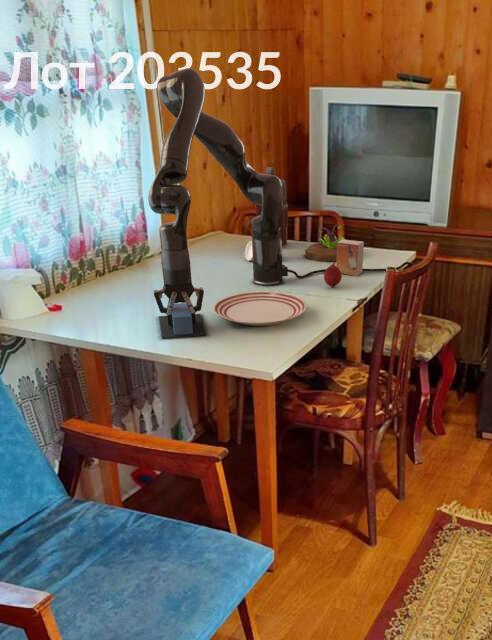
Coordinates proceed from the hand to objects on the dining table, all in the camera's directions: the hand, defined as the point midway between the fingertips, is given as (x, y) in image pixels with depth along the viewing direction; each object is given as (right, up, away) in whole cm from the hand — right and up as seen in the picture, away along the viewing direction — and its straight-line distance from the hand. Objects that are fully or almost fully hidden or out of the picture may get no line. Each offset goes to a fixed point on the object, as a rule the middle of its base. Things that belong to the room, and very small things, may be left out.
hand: (182, 325), depth 208 cm
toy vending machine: (+20, +51, +80) cm, 98 cm away
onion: (+42, +21, +35) cm, 59 cm away
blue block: (+2, -2, -7) cm, 8 cm away
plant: (+42, +44, +70) cm, 93 cm away
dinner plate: (+21, +5, +10) cm, 24 cm away
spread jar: (+17, +40, +63) cm, 76 cm away
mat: (0, 0, +1) cm, 1 cm away
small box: (+48, +31, +50) cm, 76 cm away
